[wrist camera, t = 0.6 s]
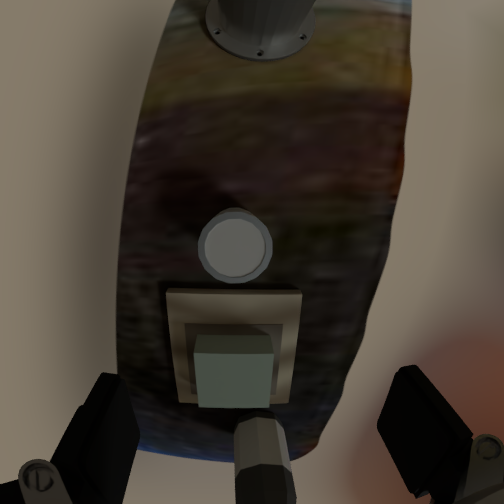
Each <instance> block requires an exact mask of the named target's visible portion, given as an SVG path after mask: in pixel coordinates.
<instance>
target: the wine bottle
mask: <svg viewBox="0 0 504 504" xmlns="http://www.w3.org/2000/svg"><path fill="white" fill-rule="evenodd" d="M234 464H235V497H236V504H296V498H297V497H296V492H295V487H294V481H293V476H292V471H291V466H290V460H289V455H288V449H287V444H286V439H285V433H284V428H283V425H282V422H281V421H280V420H279V419H278V417H277V416H276V415H275V414H274V413H269V412H262V411H254V412H251V413H248V414H246V415H243V416H240V417H239V418H238V421H237V423H236V425H235V427H234Z"/></svg>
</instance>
